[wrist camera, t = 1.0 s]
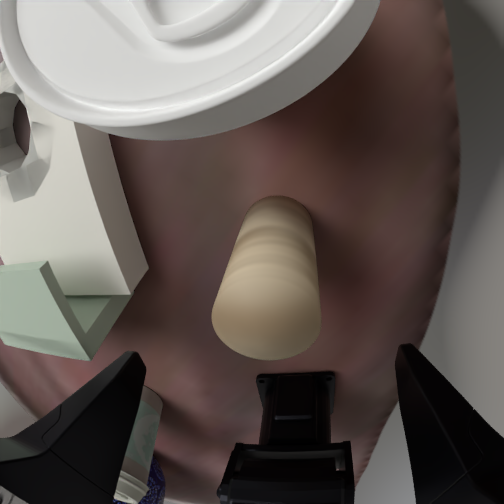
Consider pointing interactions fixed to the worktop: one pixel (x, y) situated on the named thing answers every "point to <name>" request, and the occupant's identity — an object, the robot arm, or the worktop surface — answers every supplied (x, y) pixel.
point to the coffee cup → (140, 450)
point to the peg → (271, 284)
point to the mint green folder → (53, 313)
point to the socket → (65, 201)
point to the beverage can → (176, 59)
